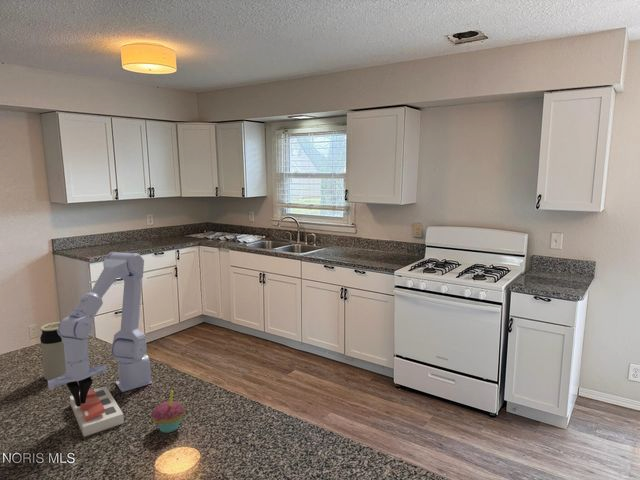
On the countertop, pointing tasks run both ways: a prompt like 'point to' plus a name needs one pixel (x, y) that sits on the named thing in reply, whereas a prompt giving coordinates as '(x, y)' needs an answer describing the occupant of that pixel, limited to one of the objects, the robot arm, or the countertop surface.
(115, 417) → the power strip
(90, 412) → the rocker
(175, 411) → the cupcake
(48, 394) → the countertop surface
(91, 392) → the rocker
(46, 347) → the travel mug
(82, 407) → the rocker middle
